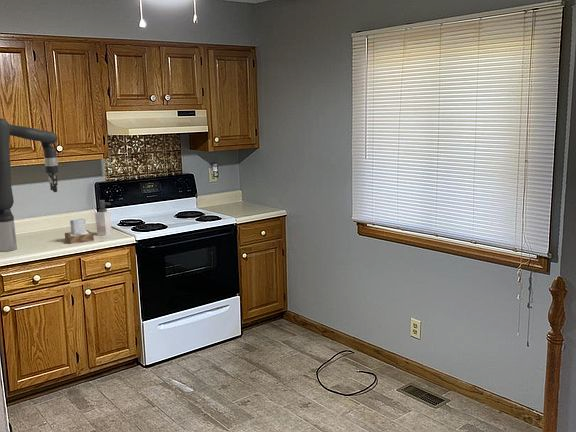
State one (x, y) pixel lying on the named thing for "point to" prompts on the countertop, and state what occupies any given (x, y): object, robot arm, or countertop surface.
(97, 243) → the countertop surface
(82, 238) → the walnut plinth
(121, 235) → the countertop surface
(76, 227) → the medicine box
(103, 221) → the soap dispenser
